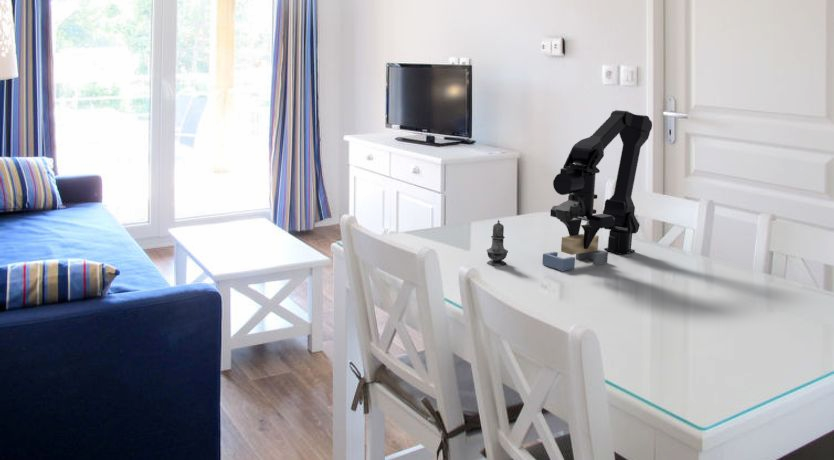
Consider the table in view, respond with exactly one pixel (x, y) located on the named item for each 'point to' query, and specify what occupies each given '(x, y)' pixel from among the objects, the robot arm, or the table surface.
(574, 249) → the slat
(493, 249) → the salt shaker
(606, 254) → the grey u channel
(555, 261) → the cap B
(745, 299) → the table surface
